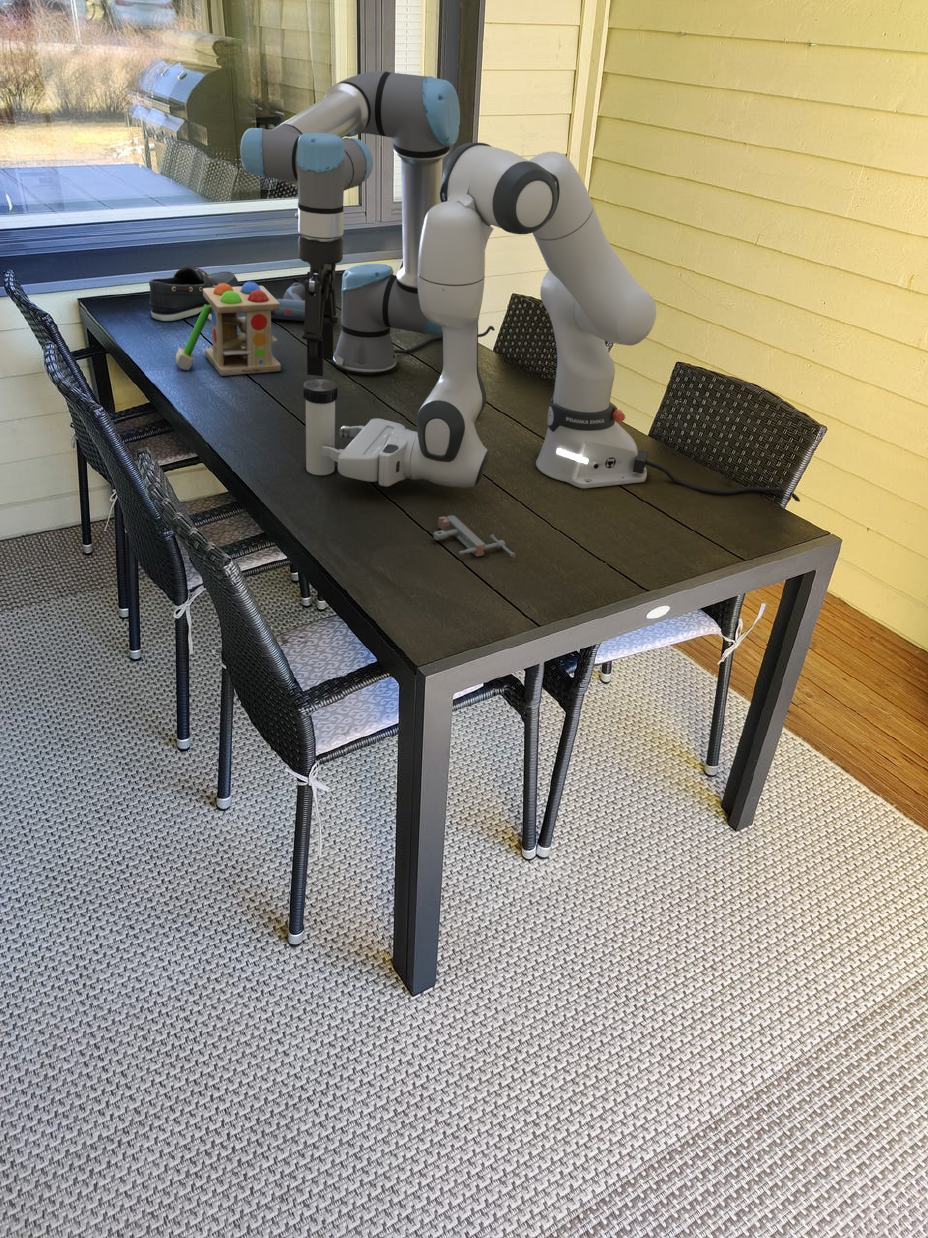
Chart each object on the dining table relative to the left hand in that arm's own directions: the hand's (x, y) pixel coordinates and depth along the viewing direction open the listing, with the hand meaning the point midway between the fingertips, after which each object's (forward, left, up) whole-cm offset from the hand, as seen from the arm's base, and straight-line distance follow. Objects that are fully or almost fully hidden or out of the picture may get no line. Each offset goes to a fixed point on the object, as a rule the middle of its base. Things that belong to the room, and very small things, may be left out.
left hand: (320, 366), depth 178 cm
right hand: (-1, +2, -14) cm, 14 cm away
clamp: (-4, +38, -21) cm, 44 cm away
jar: (0, 0, -21) cm, 21 cm away
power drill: (-53, -80, -21) cm, 98 cm away
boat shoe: (-31, -99, -21) cm, 105 cm away
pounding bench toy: (-14, -57, -21) cm, 62 cm away
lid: (0, 0, -4) cm, 4 cm away
